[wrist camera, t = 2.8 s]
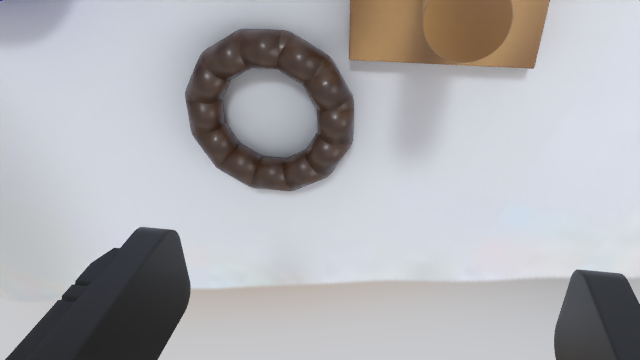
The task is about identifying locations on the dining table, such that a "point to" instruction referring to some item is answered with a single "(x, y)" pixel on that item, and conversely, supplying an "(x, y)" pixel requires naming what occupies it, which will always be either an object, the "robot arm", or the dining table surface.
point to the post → (448, 31)
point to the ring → (296, 63)
